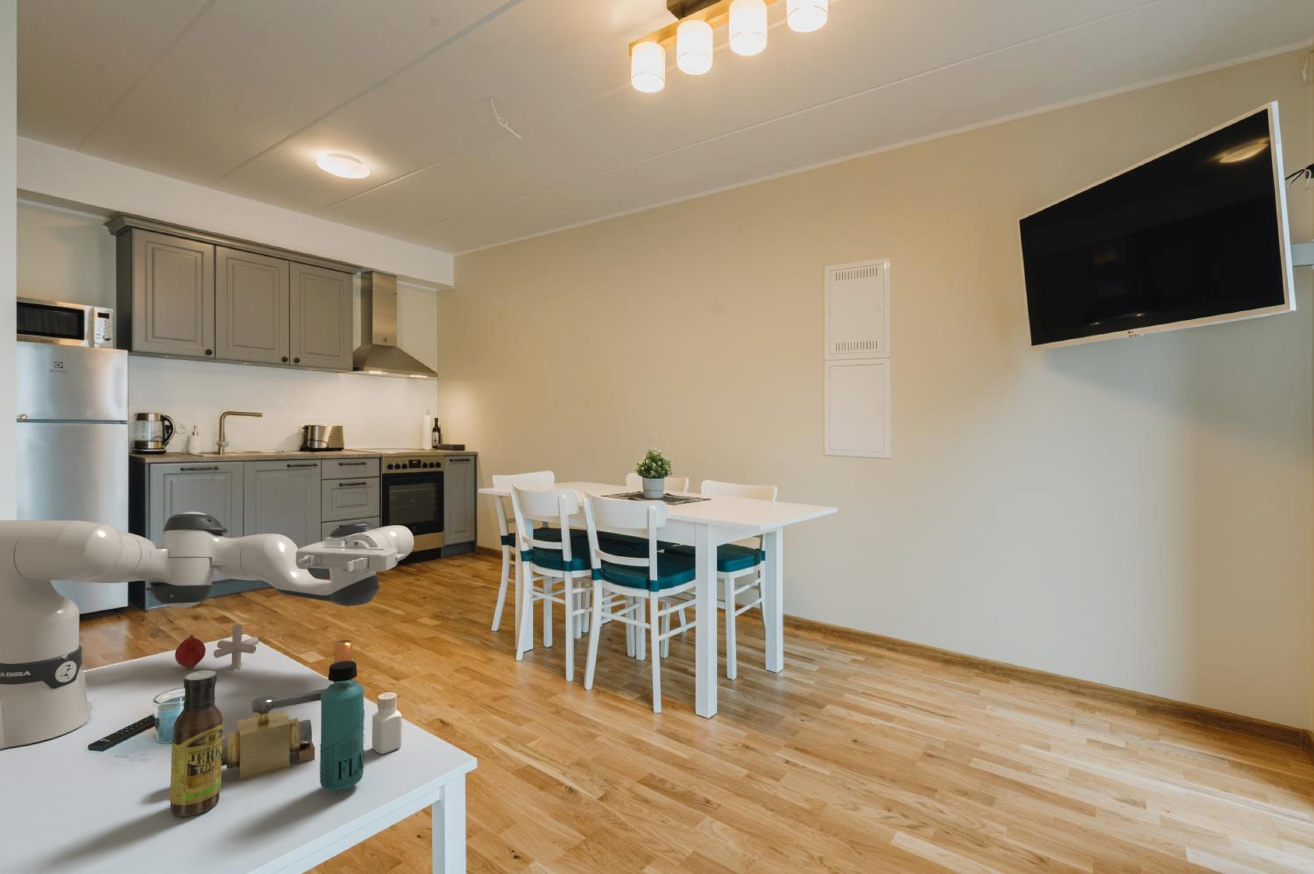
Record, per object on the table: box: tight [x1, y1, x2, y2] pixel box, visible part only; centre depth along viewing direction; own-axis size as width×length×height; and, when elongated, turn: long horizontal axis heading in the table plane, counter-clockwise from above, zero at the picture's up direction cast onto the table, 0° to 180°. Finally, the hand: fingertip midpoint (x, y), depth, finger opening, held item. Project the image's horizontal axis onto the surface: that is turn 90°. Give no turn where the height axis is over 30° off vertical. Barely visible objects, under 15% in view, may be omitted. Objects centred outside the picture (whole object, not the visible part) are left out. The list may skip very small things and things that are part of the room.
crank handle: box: [251, 639, 354, 714], centre depth 110 cm, size 15×3×9 cm, turn 122°
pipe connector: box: [213, 624, 259, 671], centre depth 150 cm, size 10×10×10 cm
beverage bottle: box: [318, 660, 366, 791], centre depth 101 cm, size 6×7×20 cm
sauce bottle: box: [169, 670, 224, 817], centre depth 96 cm, size 6×6×20 cm
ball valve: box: [222, 710, 316, 782], centre depth 106 cm, size 18×6×10 cm, turn 128°
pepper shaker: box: [371, 691, 403, 755], centre depth 114 cm, size 4×4×10 cm
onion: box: [174, 634, 207, 670], centre depth 149 cm, size 6×6×8 cm
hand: (323, 566), depth 125 cm, fingers open, 8 cm apart
